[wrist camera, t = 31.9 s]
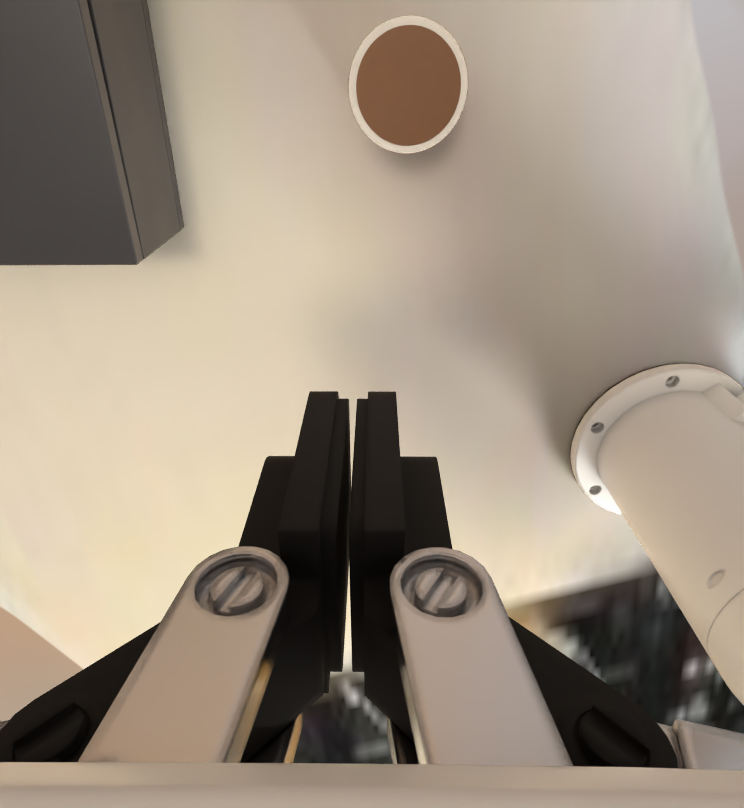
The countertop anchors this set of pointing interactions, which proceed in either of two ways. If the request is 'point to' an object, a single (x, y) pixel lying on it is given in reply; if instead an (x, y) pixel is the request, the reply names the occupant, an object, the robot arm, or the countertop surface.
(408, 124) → the cream cup
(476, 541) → the countertop surface
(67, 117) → the lid
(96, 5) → the dark open box
